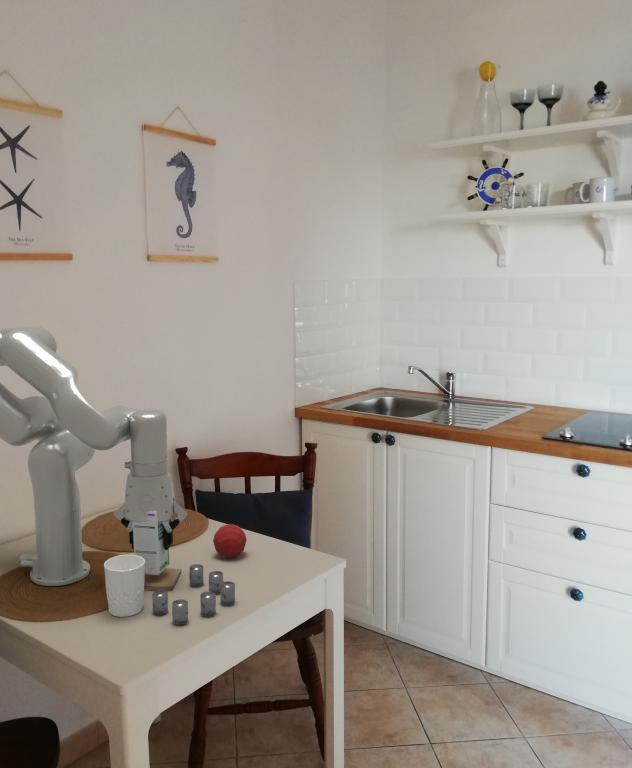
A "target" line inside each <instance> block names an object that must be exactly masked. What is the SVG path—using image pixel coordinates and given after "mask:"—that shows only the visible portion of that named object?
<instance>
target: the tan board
mask: <svg viewBox="0 0 632 768" xmlns="http://www.w3.org/2000/svg"><path fill="white" fill-rule="evenodd" d="M181 575H182V568H167V567H166V568H165V569H164V570H163V571H162V572H161V573H160V574H159V575H151V574H145V580H144V591H153V592H155V591H158V590H165V591H167V592H173V591H174V589H175V586H176V584H177V582H178V580H179V579H180V576H181Z"/></svg>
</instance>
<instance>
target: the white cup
mask: <svg viewBox="0 0 632 768" xmlns="http://www.w3.org/2000/svg"><path fill="white" fill-rule="evenodd" d="M103 568H104V581H105V582H104V583H105V592H106V599H107V605H108V613H109V614H110V615H112V616H114V617H119V618H123V617H126V618H127V617H132V616H135V615H137V614H138V613H141V612H142V610H143V608H144V595H145V590H144V580H145V560H144V558H142V557H140V556H137V555H134V554H121V555H115V556H113V557H110V558H108V559H107V560H105V561H104V563H103Z"/></svg>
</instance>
